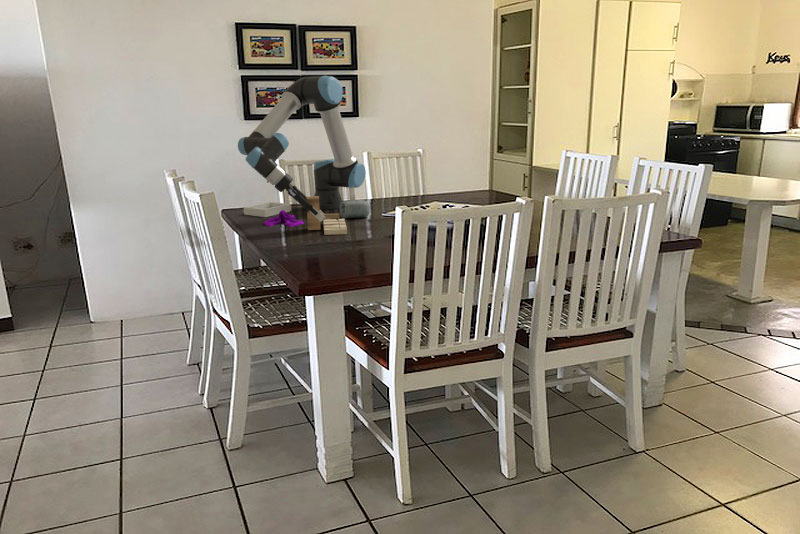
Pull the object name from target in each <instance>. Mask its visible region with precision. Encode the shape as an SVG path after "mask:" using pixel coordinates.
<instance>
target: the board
mask: <svg viewBox="0 0 800 534" xmlns="http://www.w3.org/2000/svg"><path fill="white" fill-rule="evenodd" d="M322 221H323V232H324V233H323V235H324V236H329V235H330V236H331V235H348V227H347V224H346V219H345V218H338V220H336V218H328V219H323V220H322Z"/></svg>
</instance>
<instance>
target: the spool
mask: <svg viewBox="0 0 800 534" xmlns="http://www.w3.org/2000/svg"><path fill="white" fill-rule="evenodd" d="M342 201H343V202H341V204H340V208H339V216H341V219H345V220H347V219H355V218H356V219H357V218H358V219H359V218H361V219H363V218H367V217H369V215H370V212H371V206H370V203H369V202H368V201H367V200H364V199H349V200H342Z"/></svg>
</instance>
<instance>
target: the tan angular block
mask: <svg viewBox="0 0 800 534" xmlns="http://www.w3.org/2000/svg"><path fill="white" fill-rule="evenodd" d="M306 197H307V198H306V199H307V201H308V202H309V203H310V204H311V205H312V206H314V207H315V208H316V209H317V210H318V211H319V212H320V210H321V209H320V208H319V196H314V195H313V196H306ZM306 213H307V231H320V230H321V222H320V221H319V220H318V219H317V218H316V217H315V216H314V215H312V214H311V213H310V212H306ZM323 215H324V216H325V218H324V219H323V220H325V219H336V220H338V219H340V213H324V214H323Z"/></svg>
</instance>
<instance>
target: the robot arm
mask: <svg viewBox="0 0 800 534" xmlns="http://www.w3.org/2000/svg"><path fill="white" fill-rule="evenodd" d="M285 89H286V90H284V91H283V93H282V94H281V99H280V100H278V102H277V103H276V104H275V106H274V107H272V109H271V110H270V111H269V112H268V113H267V115H265V117H264V118H263V120H261V121H260V123H259V124H258V125H257V126H256V127H255V128H254V130H253V131H252V132H251V133H250V134H249V135H248V136H243V137H241V138H240V139H239V140H238V141H237V150H238V151H239V153H240V154H241V155H242V156H243V155H244V156H246V157H245V161H246V163H247V165H249V166H250V167H251V168H252V169H254V170H255V171H256V172H257V173H258V174H259V175H261V177H263V178H264V179H265V180H266V183H267V184H268V183H270V184H271V185H272V186H274V189H276V190H277V191H278V192H279V193H282V192H284V191H285V190H286V191H287V194H288V196H290V197H291V198H293V199H294V200H295V202H297V203H298V204H299V205H300V206H301V207H303V208H304V209H305V210H306V211H305V212H306V213H307V212H310V213H311V214H312V215H314V216H315V217H316V218H317V219H318V220H319V221H320V223H321V222H322V221H323V220H325V219H324V218H325V216H324V215H323V214H325V213H324V212H323V211H322V210H336V209H340V204H341V202H343V201H344V200H343V199H342V195H341V192H340V188H349V189H354V188H355V189H358V188H360V187H361V186H362V185H363V184H364V182H365V178H366V175H367V174H366V167H365V165H364V164H363V163H361V162H359V161H358V158H357V156H356V155H354V154H353V152H352V149H351V146H350V142H349V139H348V136H347V131H346V129H345V126H344V125H345V124H344V121H343V119H342V115H341V112H340V109H339V108H340V106H341V103H342V100H343V94H344V91H343V87H342V84H341V82H340V80H338V78H336V77H334V76H331V75H329V76H328V75H322V76H320V75H319V76H304V77H301V78H299V79H297V80H296V81H294V82H293V83H292V84H291V85H289V86H288V87H287V88H285ZM305 105H313V106H314V110H315V112H317V113H319V114H320V117H321V120H322V123H323V126H324V130H325V134H326V136H327V140H328V142H329V145H330V149H331V152H332V155H333V158H334V159H326V160H318V161H315V162H314V164H313V176H314V177H313V178H314V179H313V180H314V195H313V196H319V208H320V212H319V211H318V210H317V209H316V208H315V207H314V206H312V205H311V204H310V203H309V202H308V201H307V199H306V198H307V197H308V196H306V194H304V193H303V192H302V191H301V190H300V189H298V187H297V186H296V185H293V184H292V182H293V180H294V178H293V177H292V176H291V175H289V174H288V173H286V170H284V169H283V168H282V167H281V166H280V165H279V164H278V163H277V160H278V159H279V158H280V157H281V156H282V155H283V153H285V152H286V150H287V149H288V147H289V144H290V142H289V139H288V138H287V136H285V135H284V134H283V133H280V132H278V131H279V130H280V129H281V128H282V126H283V125H284V124H285V123H286V122H287V121H288V119H289V118H290V117H291V116H292V114H293V113H294V112H295V111H298V110H300V108H302V107H303V106H305Z"/></svg>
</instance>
